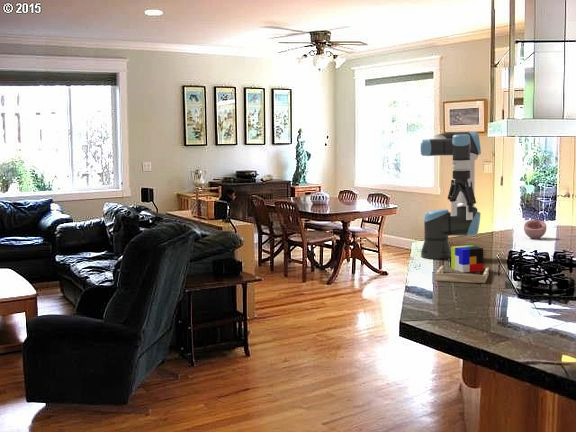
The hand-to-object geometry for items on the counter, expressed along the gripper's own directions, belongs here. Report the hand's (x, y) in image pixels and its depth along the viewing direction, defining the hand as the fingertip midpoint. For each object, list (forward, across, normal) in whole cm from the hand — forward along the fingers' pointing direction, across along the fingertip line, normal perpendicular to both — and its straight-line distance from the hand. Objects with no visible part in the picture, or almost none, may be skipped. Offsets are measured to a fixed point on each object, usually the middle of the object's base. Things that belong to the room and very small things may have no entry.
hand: (461, 217), depth 292 cm
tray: (+23, +15, -8) cm, 28 cm away
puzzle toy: (+24, +1, +2) cm, 24 cm away
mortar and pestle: (+26, -62, +82) cm, 107 cm away
